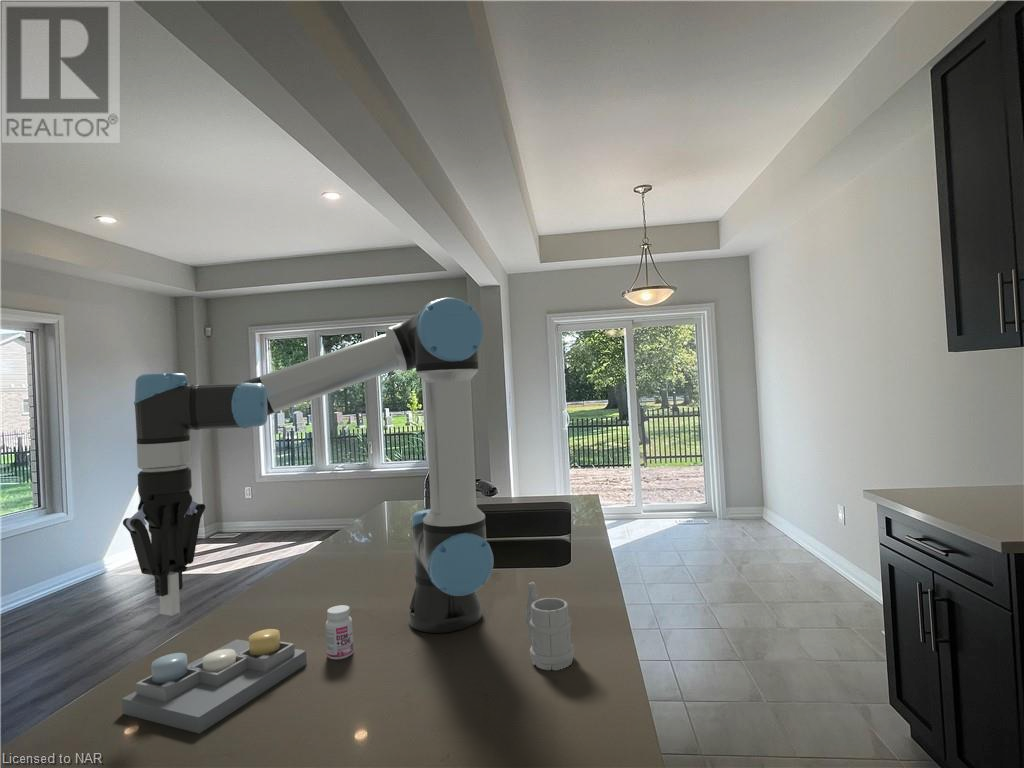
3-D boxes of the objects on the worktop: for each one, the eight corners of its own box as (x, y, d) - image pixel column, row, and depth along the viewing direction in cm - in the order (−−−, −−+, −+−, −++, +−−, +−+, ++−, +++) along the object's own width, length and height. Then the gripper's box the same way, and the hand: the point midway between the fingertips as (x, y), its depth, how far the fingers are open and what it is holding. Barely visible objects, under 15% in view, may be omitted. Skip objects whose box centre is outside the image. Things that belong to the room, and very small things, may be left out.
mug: (545, 676, 97) (541, 603, 97) (511, 649, 108) (507, 584, 108) (583, 663, 101) (579, 593, 101) (547, 638, 111) (543, 575, 111)
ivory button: (242, 665, 101) (242, 651, 101) (218, 679, 96) (217, 664, 96) (221, 661, 103) (220, 647, 103) (196, 674, 98) (195, 660, 98)
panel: (306, 663, 106) (305, 640, 106) (199, 733, 86) (197, 704, 86) (237, 651, 113) (236, 629, 113) (122, 713, 93) (121, 687, 93)
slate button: (194, 669, 97) (194, 655, 97) (166, 684, 92) (165, 669, 92) (173, 665, 99) (172, 651, 99) (144, 680, 94) (144, 665, 94)
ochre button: (286, 644, 105) (285, 630, 105) (264, 656, 100) (263, 642, 100) (265, 640, 107) (264, 627, 107) (242, 653, 102) (242, 639, 102)
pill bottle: (339, 662, 106) (336, 615, 106) (321, 657, 109) (319, 611, 109) (359, 651, 110) (356, 606, 110) (341, 646, 113) (339, 602, 113)
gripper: (184, 462, 103) (189, 596, 103) (108, 473, 91) (114, 625, 91) (215, 463, 100) (220, 601, 100) (141, 475, 88) (146, 632, 88)
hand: (170, 612), depth 96 cm, fingers closed
